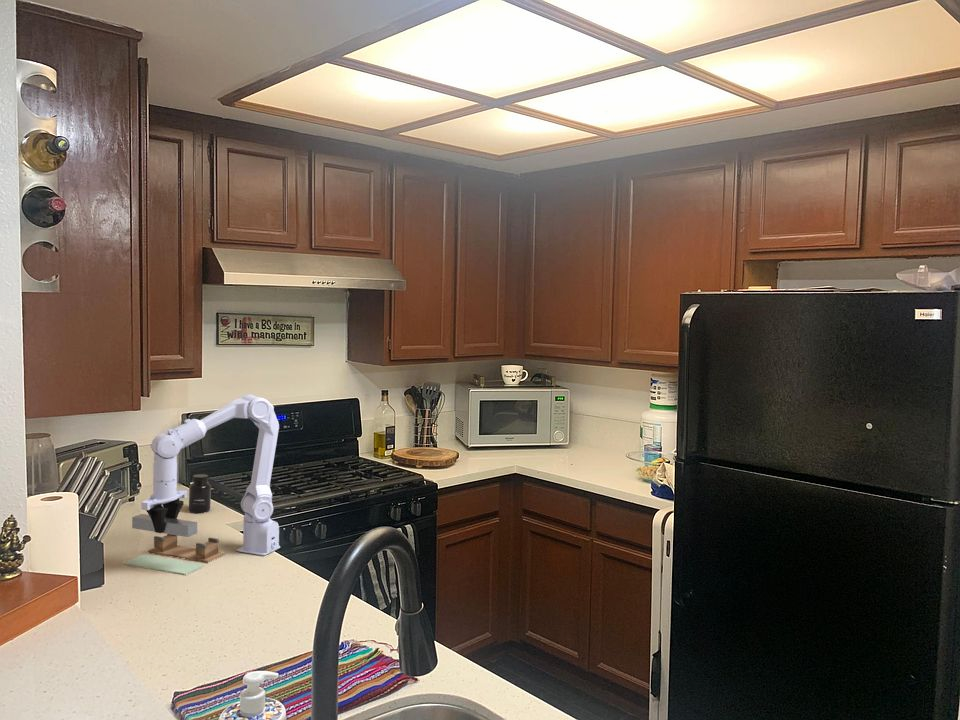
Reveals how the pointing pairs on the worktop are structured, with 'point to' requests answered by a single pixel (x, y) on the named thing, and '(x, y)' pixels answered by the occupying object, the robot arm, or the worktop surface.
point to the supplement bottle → (199, 494)
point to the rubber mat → (164, 564)
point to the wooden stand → (187, 549)
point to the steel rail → (166, 525)
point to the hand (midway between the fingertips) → (164, 530)
